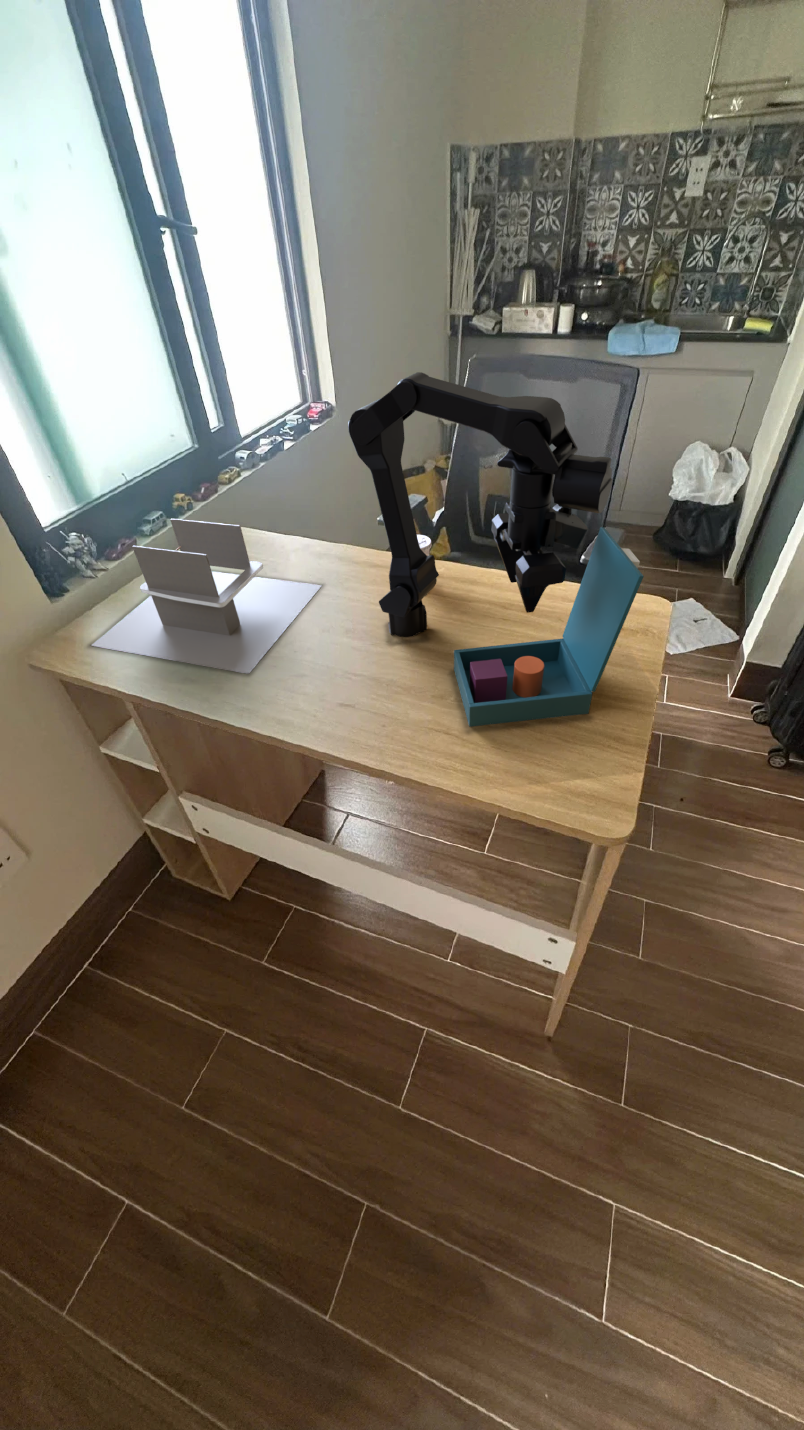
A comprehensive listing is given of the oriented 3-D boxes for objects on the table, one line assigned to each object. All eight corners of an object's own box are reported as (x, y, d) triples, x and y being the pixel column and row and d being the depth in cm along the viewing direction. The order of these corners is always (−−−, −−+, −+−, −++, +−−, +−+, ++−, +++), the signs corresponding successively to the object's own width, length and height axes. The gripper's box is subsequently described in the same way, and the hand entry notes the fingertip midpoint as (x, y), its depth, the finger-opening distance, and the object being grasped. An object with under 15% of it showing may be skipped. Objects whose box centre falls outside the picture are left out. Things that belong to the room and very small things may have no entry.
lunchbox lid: (639, 575, 76) (658, 577, 76) (600, 526, 87) (617, 528, 87) (591, 691, 89) (607, 692, 89) (562, 636, 99) (576, 637, 100)
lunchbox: (469, 730, 92) (469, 707, 88) (453, 672, 102) (453, 649, 99) (587, 717, 92) (592, 693, 89) (560, 661, 103) (563, 638, 100)
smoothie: (400, 578, 127) (396, 515, 118) (430, 575, 127) (428, 512, 118) (403, 593, 123) (399, 529, 113) (434, 590, 123) (432, 526, 113)
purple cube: (474, 704, 95) (475, 679, 91) (469, 686, 98) (470, 661, 95) (505, 700, 95) (507, 676, 92) (499, 682, 98) (501, 658, 95)
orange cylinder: (516, 699, 95) (518, 675, 92) (509, 681, 98) (511, 657, 95) (544, 696, 95) (547, 671, 92) (536, 678, 99) (539, 654, 95)
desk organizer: (248, 673, 105) (224, 589, 94) (90, 645, 115) (51, 566, 104) (322, 585, 127) (309, 508, 116) (183, 567, 137) (159, 495, 125)
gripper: (611, 522, 78) (592, 622, 88) (564, 470, 91) (552, 562, 102) (527, 531, 77) (518, 631, 87) (493, 478, 91) (488, 570, 101)
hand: (521, 596), depth 94 cm, fingers open, 9 cm apart
